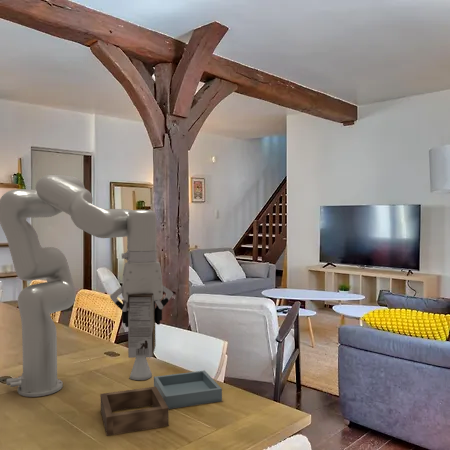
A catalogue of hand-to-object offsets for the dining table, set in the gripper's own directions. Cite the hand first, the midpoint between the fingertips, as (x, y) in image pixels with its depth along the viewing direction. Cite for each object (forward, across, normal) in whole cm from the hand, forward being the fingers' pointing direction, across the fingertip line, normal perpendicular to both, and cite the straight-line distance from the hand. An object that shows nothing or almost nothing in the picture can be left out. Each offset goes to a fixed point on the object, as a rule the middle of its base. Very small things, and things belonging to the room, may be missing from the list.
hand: (142, 324), depth 124 cm
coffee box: (+8, 0, 0) cm, 8 cm away
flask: (+24, +4, +27) cm, 37 cm away
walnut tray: (+24, -3, -2) cm, 24 cm away
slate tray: (+24, +14, +9) cm, 29 cm away
